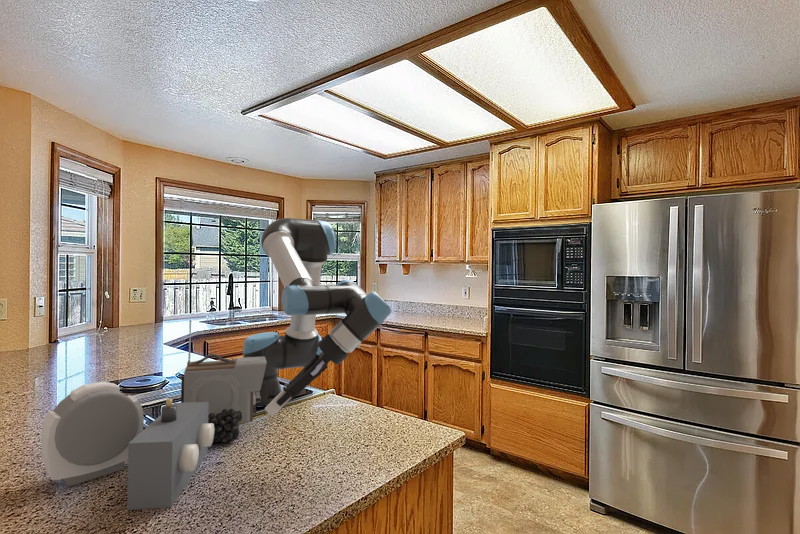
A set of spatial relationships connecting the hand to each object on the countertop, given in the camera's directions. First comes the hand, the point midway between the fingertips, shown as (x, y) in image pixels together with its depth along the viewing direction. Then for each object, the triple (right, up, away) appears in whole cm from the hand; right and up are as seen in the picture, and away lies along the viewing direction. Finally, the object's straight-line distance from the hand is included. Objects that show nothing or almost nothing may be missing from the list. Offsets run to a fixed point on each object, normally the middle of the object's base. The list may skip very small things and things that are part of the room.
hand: (268, 412), depth 104 cm
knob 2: (-17, -7, -2) cm, 19 cm away
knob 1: (-15, -7, -14) cm, 22 cm away
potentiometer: (-20, +1, -9) cm, 22 cm away
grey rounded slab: (-37, -12, -8) cm, 40 cm away
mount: (-19, -12, -9) cm, 24 cm away
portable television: (-22, -12, +27) cm, 37 cm away
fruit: (-18, -12, +11) cm, 25 cm away
